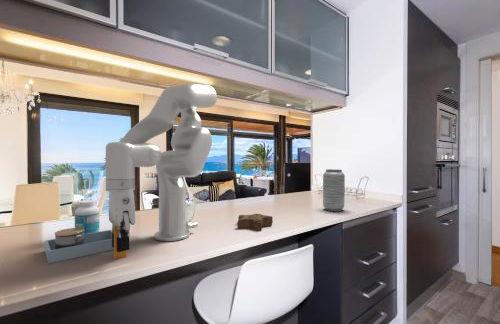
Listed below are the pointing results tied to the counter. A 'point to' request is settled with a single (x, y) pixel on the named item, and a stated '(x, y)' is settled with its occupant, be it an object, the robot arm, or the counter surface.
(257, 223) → the decorative item
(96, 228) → the pill bottle
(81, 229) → the tin
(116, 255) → the supplement box
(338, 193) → the vase
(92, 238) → the tote
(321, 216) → the counter surface
